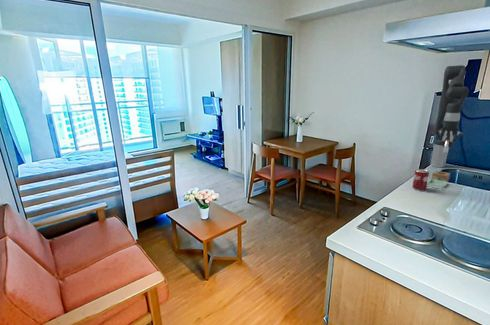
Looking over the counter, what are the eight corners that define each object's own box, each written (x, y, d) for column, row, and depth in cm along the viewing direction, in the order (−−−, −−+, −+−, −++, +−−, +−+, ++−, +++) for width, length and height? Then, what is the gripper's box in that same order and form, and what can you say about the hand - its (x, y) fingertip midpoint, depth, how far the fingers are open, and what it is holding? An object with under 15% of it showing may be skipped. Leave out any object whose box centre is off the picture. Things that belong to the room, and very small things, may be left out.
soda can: (425, 187, 161) (429, 169, 158) (426, 191, 156) (429, 173, 152) (412, 185, 165) (415, 168, 162) (412, 189, 159) (415, 171, 156)
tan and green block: (434, 176, 179) (435, 170, 178) (450, 180, 173) (451, 173, 171) (428, 181, 171) (430, 174, 170) (445, 185, 165) (446, 177, 163)
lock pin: (443, 153, 168) (445, 139, 165) (448, 153, 166) (450, 140, 163) (442, 153, 166) (444, 140, 164) (447, 154, 164) (449, 140, 162)
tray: (430, 182, 170) (431, 178, 170) (447, 185, 164) (447, 181, 163) (425, 186, 164) (426, 182, 163) (442, 189, 158) (443, 186, 157)
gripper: (467, 120, 157) (461, 147, 162) (439, 118, 167) (435, 144, 172) (464, 121, 153) (458, 149, 157) (436, 119, 163) (431, 146, 168)
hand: (446, 146), depth 165 cm, fingers closed on lock pin, 2 cm apart
